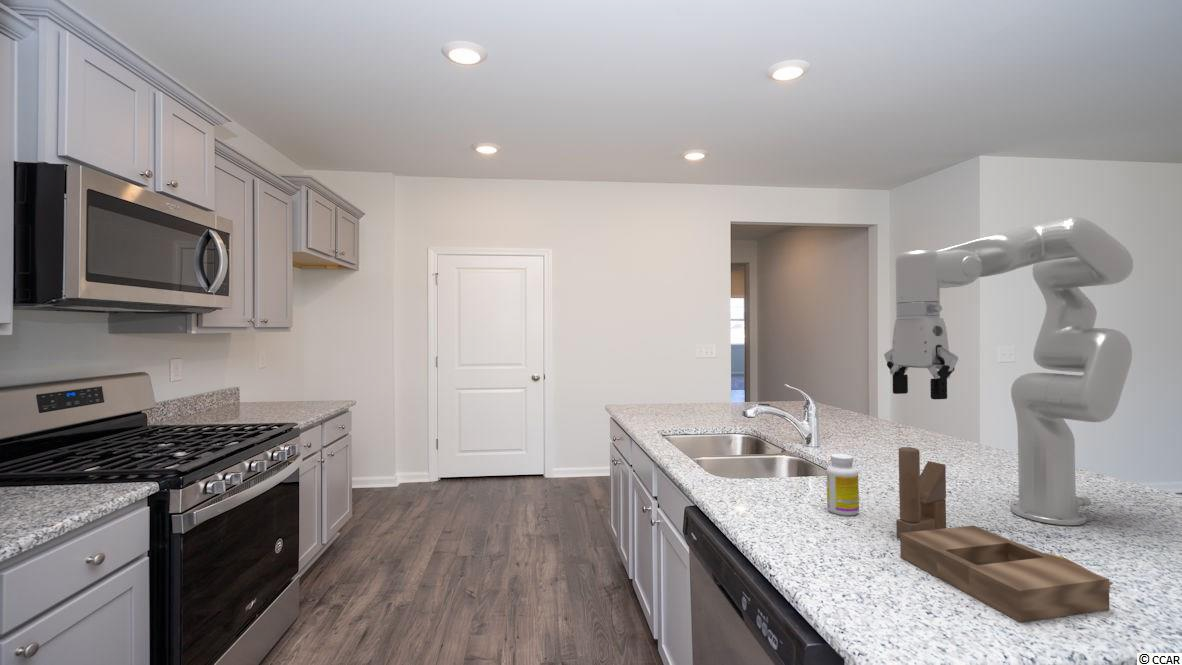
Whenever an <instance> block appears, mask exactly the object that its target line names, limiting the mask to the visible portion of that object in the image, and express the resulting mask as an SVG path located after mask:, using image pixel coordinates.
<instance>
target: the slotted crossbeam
mask: <svg viewBox="0 0 1182 665" xmlns="http://www.w3.org/2000/svg"><path fill="white" fill-rule="evenodd" d="M899 540H900V541H899V542H900V543H899V544H900V545H899V547H900V550H899V551H900V559H902V560H904V561H906V562H908V563H910V564H911V565H913V566H915V567H917V568H919V569H921V570H922V571H924V572H927V573H928V574H929V575H932V576H933V577H936V578H937V579H939V580H941V581H943V582H945V583H947V584H949V585H951V586H952V587H953V588H956V589H958V590H960V591H961V592H963V593H964V594H967V595H969V596H970V597H973V598H974V599H975V600H978V601H980V602H981V603H984V604H985V605H987V606H989V607H991V608H993V609H995V610H997V611H998V612H1000V613H1002V614H1003V615H1005V616H1007V617H1009V618H1011V619H1013V620H1015V621H1017V622H1018V623H1026V622H1032V621H1039V620H1040V621H1041V620H1048V619H1053V618H1054V619H1055V618H1059V617H1060V618H1061V617H1068V616H1073V615H1074V616H1075V615H1080V614H1086V613H1087V614H1089V613H1094V612H1102V611H1108V610H1110V608H1111V607H1110V588H1109V582H1110V578H1107V577H1105V576H1102V575H1099V574H1097V573H1095V572H1093V571H1091V570H1089V571H1087V570H1088V569H1087V570H1085V569H1082V568H1080V567H1077V566H1075V565H1072V564H1070V563H1067V562H1065V561H1062V560H1060V559H1057V558H1055V557H1052V556H1049V555H1047V554H1044V553H1045V552H1042V551H1039V550H1037V549H1033V548H1032V547H1029V546H1026V545H1024V544H1021V543H1018V542H1016V541H1014V540H1011V539H1009V538H1006V537H1003V536H1001V535H999V534H996V533H993V532H990V531H988V530H986V529H983V528H981V527H978V526H976V525H966V526H957V527H946V528H945V529H935V530H925V531H916V532H906V533H900V538H899ZM1090 571H1091V572H1090Z"/></svg>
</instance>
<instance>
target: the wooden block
mask: <svg viewBox="0 0 1182 665" xmlns="http://www.w3.org/2000/svg"><path fill="white" fill-rule="evenodd" d="M920 456H921V455H920V450H919V448H916V447H911V446H910V447H909V446H908V447H907V446H902V447H899V448H898V491H899V495H898V496H899V500H898V501H899V518H898V519H896V520H895V521H896V523H895V524H896V525H895V526H896V528H895V529H896V531H895V532H896V533H895V534H896V537H897V538H899V539H900V533H906V532H916V531H925V530H935V529H945V528H947V500H946V499H947V479H946V476H947V475H946V474H947V472H946V468H947V467H946V464H944V463H939V462H935V461H930V460H928V461H927V462H926V464H925V466H924V468H923V470H922V471H921V462H920V460H921V459H920Z"/></svg>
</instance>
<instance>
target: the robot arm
mask: <svg viewBox="0 0 1182 665" xmlns="http://www.w3.org/2000/svg"><path fill="white" fill-rule="evenodd" d="M1031 265H1032V277H1033V280H1034V282H1035V283H1036V285H1037V287H1038V288H1039V291H1040V292H1041V294H1042V296H1043V298H1044V302H1045V305H1046V307H1045V308H1046V311H1045V314H1044V318H1043V321H1042V324H1041V327H1040V330H1039V333H1038V335H1037V338H1036V341H1035V345H1034V349H1033V360H1034V362H1035V363H1036V365H1037V366H1039V367H1040V368H1042V369H1045V370H1051V371H1057V372H1070V373H1071V372H1073V373H1083V374H1082V375H1081V374H1080V375H1079V374H1065V373H1055V372H1053V373H1052V372H1029V373H1026V374H1023V375H1020V376H1019V377H1017V378H1016V379H1015V380H1014V381H1013V383H1012V384H1011V387H1010V394H1011V401H1012V404H1013V408H1014V409H1013V410H1014V412H1015V417H1016V426H1017V428H1016V429H1017V464H1018V465H1017V466H1018V467H1017V468H1018V470H1017V472H1018V473H1017V474H1018V476H1017V477H1018V501H1014V502H1012V503H1010V504H1009V506H1010V507H1009V508H1010V511H1011V512H1012V513H1013V514H1015V515H1017V516H1019V517H1022V518H1025V519H1028V520H1031V521H1035V522H1040V523H1045V524H1050V525H1051V524H1052V525H1058V526H1059V525H1060V526H1080V525H1084V524H1085V523H1087V517H1086V515H1085V514H1083V513H1082V512H1080V511H1079V509H1080V508H1081V507H1089V506H1091V505H1092V500H1091V499H1090V498H1089V497H1088V496H1083V497H1082V496H1081V497H1080V496H1079V497H1078V496H1076V495H1077V494H1076V492H1077V491H1076V489H1077V488H1076V442H1075V441H1076V440H1075V437H1074V434H1073V431H1072V430H1071V428H1070V426H1069V424H1068V423H1067V422H1066V421H1065V420H1072V421H1078V422H1079V421H1080V422H1085V423H1101V422H1105V421H1107V420H1109V419H1110V418H1112V416H1113V415H1114V414H1115V412H1116V410H1117V408H1118V406H1119V404H1120V403H1119V402H1120V399H1121V396H1122V393H1123V389H1124V387H1125V384H1126V380H1127V377H1128V373H1129V371H1130V368H1131V364H1132V360H1133V359H1132V358H1133V348H1132V344H1131V341H1130V339H1129V338H1128V336H1126V334H1124V333H1123V332H1122V331H1119V330H1117V329H1113V328H1106V327H1105V328H1104V327H1103V328H1102V327H1101V328H1100V327H1095V323H1096V319H1097V314H1098V313H1097V312H1098V310H1097V308H1096V307H1095V305H1094V303H1093V302H1092V300H1090V298H1089V297H1087V295H1086V294H1085V293H1084V292H1083V291H1082V290H1081V288H1083V287H1097V286H1108V285H1109V286H1110V285H1114V284H1115V285H1116V284H1119V283H1122V282H1123V281H1125V280H1126V279H1127V278H1129V277H1130V276H1131V274H1132V272H1133V269H1134V260H1133V257H1132V254H1131V253H1130V251H1129V250H1128V249H1127V247H1126V246H1124V245H1123V244H1122V243H1121V242H1120V241H1119V240H1118V239H1116V238H1115V237H1113V235H1111V234H1110V233H1109V232H1107V231H1106V230H1105V229H1103V228H1102V227H1101V226H1099V225H1098V224H1096V223H1094V222H1093V221H1090V220H1088V219H1087V218H1083V217H1079V216H1069V217H1065V218H1058V219H1053V220H1048V221H1042V222H1038V223H1032V224H1028V225H1024V226H1020V227H1017V228H1013V229H1009V230H1006V231H1004V232H1000V233H996V234H992V235H989V236H984V237H981V238H977V239H973V240H970V241H967V242H964V243H960V244H957V245H954V246H949V247H946V248H942V249H938V250H929V249H916V250H908V251H903V252H901V253H899V254H898V255H897V257H896V259H895V299H896V300H895V303H896V304H895V305H896V306H895V307H896V308H895V309H896V310H895V311H896V317H895V322H894V327H893V331H892V332H893V334H892V344H891V346H892V347H891V349H890V350H888V351H887V352H885V353H884V358H885V361H886V366H887V368H888V369H889V373H890V375H891V376H892V394H895V395H901V394H904V395H905V394H908V393H909V378H908V374H906V372H907V371H908V370H909V368H916V369H917V368H918V369H927V370H928V372H929V373H930V375H931V376H932V378H930V380H929V381H930V386H929V387H930V398H931V400H947V399H948V379H950V378H951V375H952V373H953V372H954V371H955V369H956V365H957V363H958V361H959V357H958V355H956V354H955V353H953V352H951V351H950V347H949V340H948V339H949V338H948V334H947V332H948V331H947V327H946V323H945V320H944V318H943V317H941V316H940V315H941V312H942V310H943V307H942V305H941V303H940V301H941V298H940V297H941V296H940V292H941V291H940V290H941V289H943V288H944V289H947V288H959V287H963V286H968V285H970V284H973V283H974V282H975V281H977V279H979V278H984V277H990V276H996V275H1002V274H1005V273H1009V272H1012V271H1016V270H1017V269H1021V268H1024V267H1028V266H1031Z"/></svg>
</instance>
